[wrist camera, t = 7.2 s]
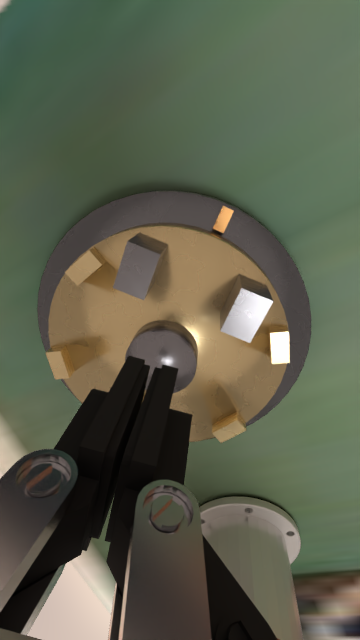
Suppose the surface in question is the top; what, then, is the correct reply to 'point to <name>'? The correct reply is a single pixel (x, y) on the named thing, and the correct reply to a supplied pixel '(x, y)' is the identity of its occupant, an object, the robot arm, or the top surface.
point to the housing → (207, 216)
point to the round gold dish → (173, 322)
